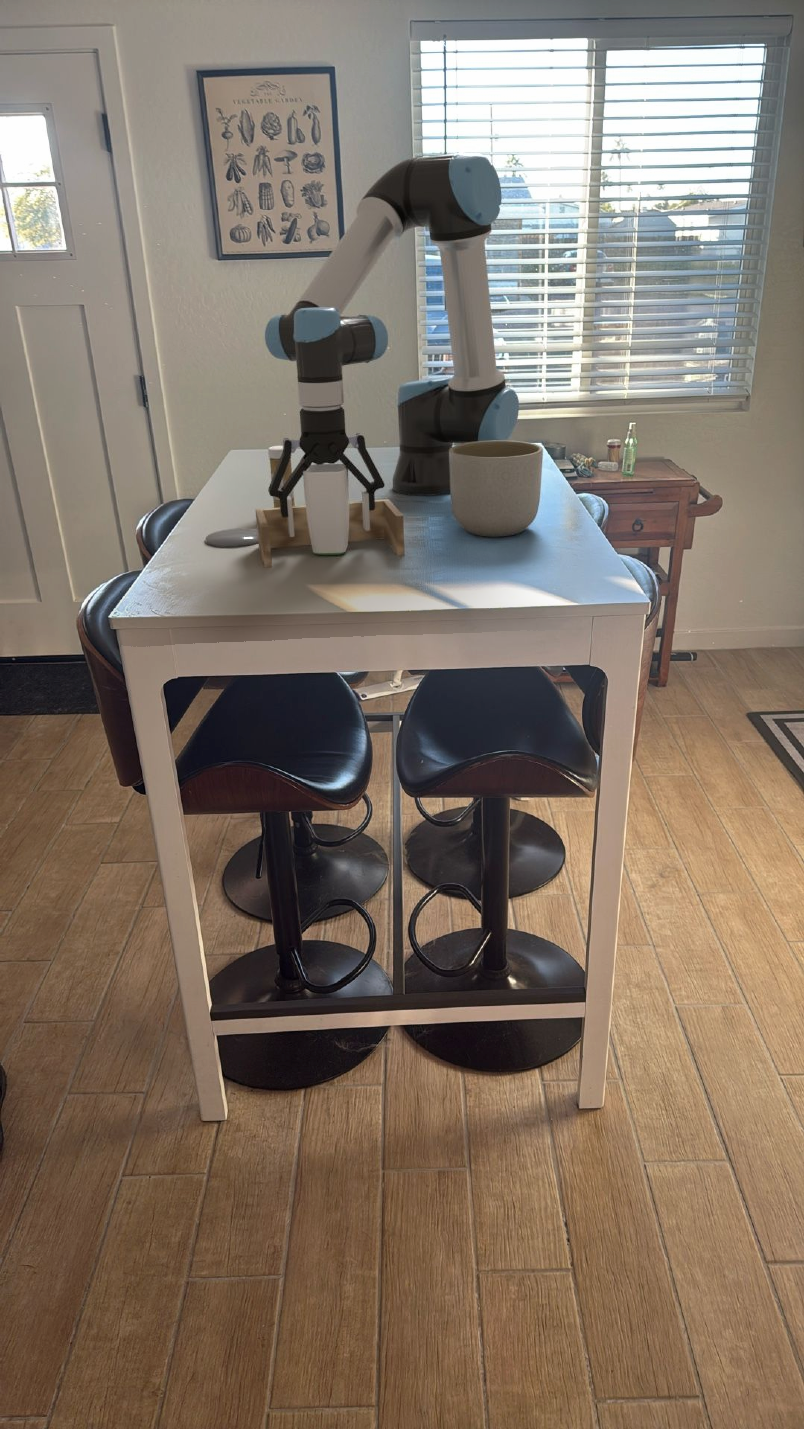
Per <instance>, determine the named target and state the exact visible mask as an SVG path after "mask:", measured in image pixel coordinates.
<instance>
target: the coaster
mask: <svg viewBox="0 0 804 1429" xmlns="http://www.w3.org/2000/svg"><path fill="white" fill-rule="evenodd" d="M205 542H206V544H207V545H209V546H210V547H211V546H212V547H216V548H239V547H240V548H242V547H248V546H253V545H256V544H259V543H258V532H257V529H255V528H230V529H224V530H223V529H222V530H218V531H214V532H212V533H209V534H207V535H206V537H205Z"/></svg>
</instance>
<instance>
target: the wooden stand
mask: <svg viewBox="0 0 804 1429" xmlns="http://www.w3.org/2000/svg"><path fill="white" fill-rule="evenodd" d="M292 510H293V523H294V536H295V537H290V535H289V532H288V519H287V517H282V515H281V511H280V508H274V507H269V508H258V509H256V508H255V520H256V530H257V532H258V543H257V544H258V549H259V552H260V556H261V559H262V562H263V566H264V568H272V567H273V564H272V562H273V561H272V553H271V552H272V551H271V550H272V549H278V548H288V547H302V546H312V544H311V539H310V533H309V527H308V521H307V513H306V505H295V506H293V507H292ZM369 516H370V530H369V531H366V530H365V529H364V527H363V510H362V500H361V501H360V500H359V501H349V534H348V543H350V542H361V541H372V540H383V539H384V540H385V541H386V542H387V544H388V545H389V546H390V547H391V549H392V550H393V551H394V552H395V554H396V556H398V557H400V556H405V526H404V515H403V514H402V512H400V510H399V509H398V508H397V507H396V506H395V504H394V503H393V502H392V501H391V500H390V499H389V498H386V499H375V509H374V510H370V511H369Z"/></svg>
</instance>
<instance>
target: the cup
mask: <svg viewBox="0 0 804 1429" xmlns="http://www.w3.org/2000/svg"><path fill="white" fill-rule="evenodd" d="M302 477H303V480H302V481H303V491H304V492H303V493H304V500H305V502H304V503H305V506H306V513H307V521H308V527H309V533H310V539H311V544H312V545H311V548H312V553H313V554H315V555H317V556H341V555H343V554H344V553H345V552H346V551H347V548H348V546H349V544H348V543H349V542H348V534H349V502H350V488H349V487H350V485H349V484H350V483H349V482H350V481H349V470H348V468H347V467H346V466H345V465H344V464H343V463H334V464H329V463H324V464H320V465H317V464H315V463H312V464H311V465H310V467H309V468H308V469H307V470H306V471H303V475H302Z"/></svg>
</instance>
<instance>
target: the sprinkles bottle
mask: <svg viewBox="0 0 804 1429" xmlns="http://www.w3.org/2000/svg"><path fill="white" fill-rule="evenodd" d="M267 452H268V453H267V454H268V459H269V465H270V479H271V480H270V482H271V481H272V478H273V476H274V473H275V470H276V468H277V465H278V463H279V460H280V457H281V455H282V452H283V445H273V446H270V447H268V449H267ZM292 454H293V453H291V457H290V460H289V463H288V465H287V468H286V470H285V473H284V476H283V478H282V481H281V483H280V486H279V489H281V488H282V487H283V485H284V484H285V482H286V481H287V480H288V478H289V477H290V475H291V474H292V472H293V469H292ZM294 489H295V488H293V490H292V491H291V493H290V494H289V495H288V496H290V497H291V499H292V507H293V506H296V505H295V490H294ZM272 499H273V508H280V499H279V498H278V497H274V496H272Z"/></svg>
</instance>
